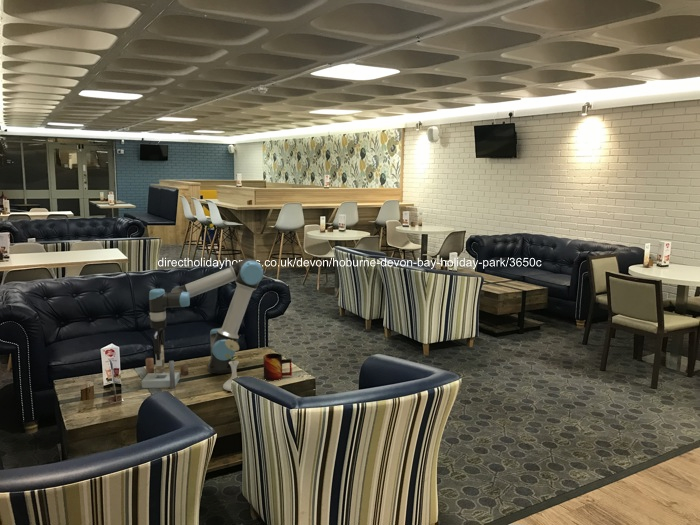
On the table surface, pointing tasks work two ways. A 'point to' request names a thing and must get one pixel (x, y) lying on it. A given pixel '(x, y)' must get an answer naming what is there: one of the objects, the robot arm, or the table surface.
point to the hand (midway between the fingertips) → (160, 364)
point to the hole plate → (162, 379)
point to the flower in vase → (231, 363)
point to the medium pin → (149, 365)
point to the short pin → (184, 370)
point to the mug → (275, 366)
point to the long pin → (161, 368)
